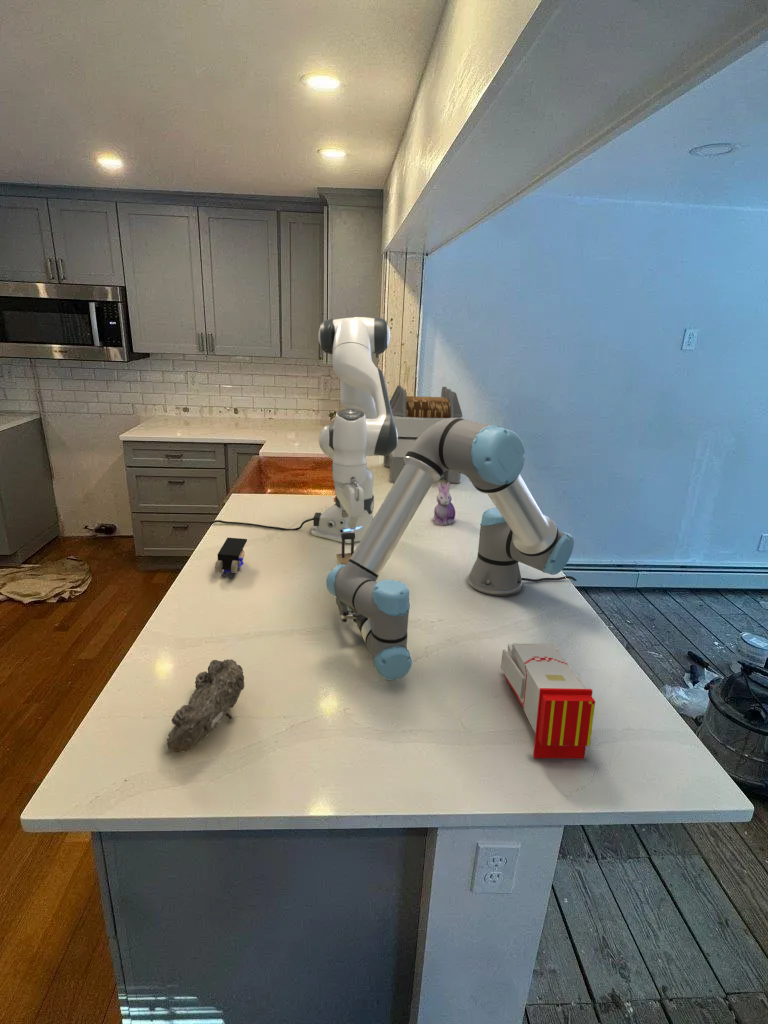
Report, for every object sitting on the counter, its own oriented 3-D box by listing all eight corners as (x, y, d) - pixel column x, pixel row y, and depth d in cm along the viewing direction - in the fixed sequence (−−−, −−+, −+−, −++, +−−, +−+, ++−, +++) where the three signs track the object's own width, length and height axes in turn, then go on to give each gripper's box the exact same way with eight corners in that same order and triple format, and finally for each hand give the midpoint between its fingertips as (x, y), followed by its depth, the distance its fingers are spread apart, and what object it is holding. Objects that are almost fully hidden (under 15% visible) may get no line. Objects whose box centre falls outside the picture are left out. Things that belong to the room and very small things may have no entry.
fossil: (192, 660, 117) (244, 628, 112) (224, 691, 120) (276, 661, 115) (142, 746, 98) (202, 712, 93) (182, 779, 101) (242, 748, 96)
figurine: (440, 527, 207) (443, 488, 202) (426, 518, 215) (428, 480, 210) (462, 524, 211) (465, 485, 206) (446, 515, 220) (450, 478, 215)
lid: (336, 557, 158) (336, 530, 155) (355, 555, 160) (355, 529, 157) (347, 581, 144) (348, 552, 142) (368, 580, 146) (369, 551, 143)
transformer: (382, 463, 289) (386, 382, 275) (445, 464, 293) (451, 384, 279) (390, 482, 257) (394, 392, 243) (460, 483, 261) (468, 394, 247)
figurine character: (238, 584, 162) (249, 557, 175) (236, 562, 158) (247, 536, 172) (215, 584, 161) (227, 556, 175) (212, 561, 158) (225, 535, 171)
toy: (549, 626, 126) (605, 697, 97) (544, 681, 129) (596, 766, 100) (495, 625, 126) (534, 696, 96) (491, 680, 128) (528, 765, 99)
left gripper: (370, 483, 140) (369, 535, 144) (352, 463, 158) (351, 509, 163) (345, 484, 138) (344, 537, 142) (330, 463, 156) (330, 511, 161)
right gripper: (336, 647, 128) (319, 598, 149) (414, 638, 133) (386, 592, 154) (337, 618, 125) (319, 572, 146) (416, 609, 130) (388, 566, 151)
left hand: (348, 522), depth 153 cm, fingers open, 8 cm apart
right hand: (354, 582), depth 150 cm, fingers closed on chest, 5 cm apart
